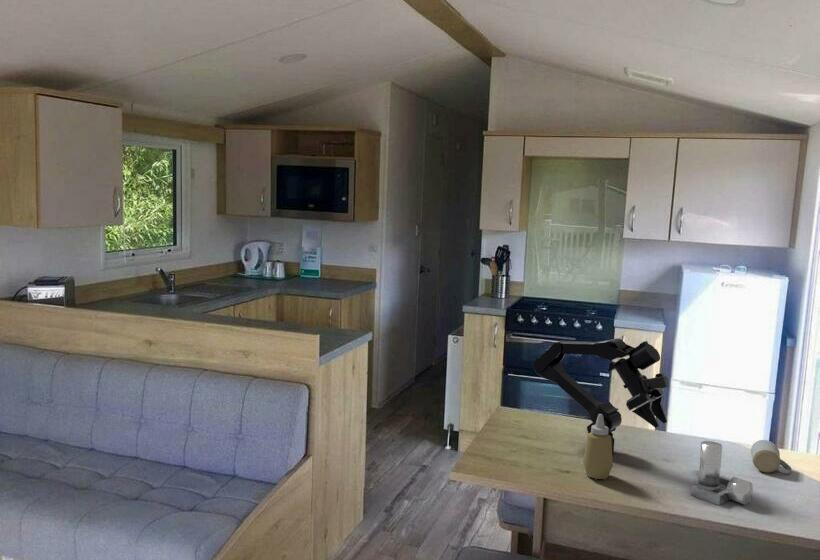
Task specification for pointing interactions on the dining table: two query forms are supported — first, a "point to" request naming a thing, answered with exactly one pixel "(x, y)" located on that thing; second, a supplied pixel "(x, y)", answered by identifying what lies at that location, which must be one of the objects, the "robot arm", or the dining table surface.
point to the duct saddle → (726, 491)
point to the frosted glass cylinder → (710, 466)
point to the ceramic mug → (768, 457)
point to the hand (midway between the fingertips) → (661, 424)
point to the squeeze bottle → (598, 451)
